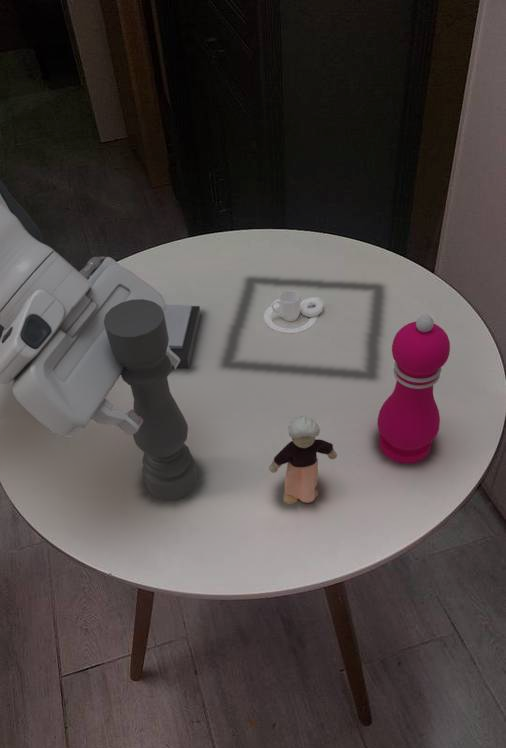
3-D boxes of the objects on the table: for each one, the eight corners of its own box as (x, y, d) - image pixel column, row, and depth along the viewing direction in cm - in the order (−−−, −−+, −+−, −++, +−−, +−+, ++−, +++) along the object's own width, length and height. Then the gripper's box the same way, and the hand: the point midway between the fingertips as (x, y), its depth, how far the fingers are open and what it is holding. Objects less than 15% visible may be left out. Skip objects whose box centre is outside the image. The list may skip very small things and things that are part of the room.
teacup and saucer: (325, 304, 104) (326, 281, 101) (319, 337, 99) (319, 315, 96) (268, 300, 105) (267, 278, 102) (259, 333, 100) (258, 311, 97)
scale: (92, 369, 97) (87, 354, 95) (111, 316, 105) (107, 301, 103) (189, 371, 96) (186, 356, 94) (201, 317, 104) (198, 302, 102)
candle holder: (161, 512, 80) (117, 347, 61) (138, 478, 84) (90, 313, 65) (207, 488, 82) (178, 322, 63) (182, 456, 86) (148, 289, 67)
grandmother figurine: (282, 518, 78) (278, 445, 69) (268, 494, 81) (263, 420, 71) (341, 494, 80) (345, 419, 71) (325, 472, 83) (328, 396, 73)
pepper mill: (362, 447, 85) (375, 317, 70) (400, 416, 88) (419, 286, 73) (408, 478, 81) (432, 349, 66) (446, 446, 84) (477, 315, 69)
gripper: (85, 263, 75) (179, 347, 80) (-21, 387, 63) (98, 477, 68) (113, 232, 71) (210, 322, 76) (4, 358, 58) (130, 457, 63)
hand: (157, 396), depth 71 cm, fingers open, 8 cm apart
